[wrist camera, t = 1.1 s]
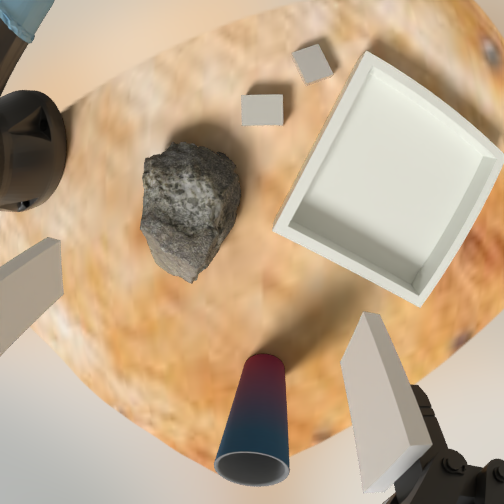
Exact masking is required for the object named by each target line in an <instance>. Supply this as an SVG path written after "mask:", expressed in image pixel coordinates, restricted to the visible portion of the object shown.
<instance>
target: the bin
mask: <svg viewBox="0 0 504 504" xmlns="http://www.w3.org/2000/svg"><path fill="white" fill-rule="evenodd" d="M503 164H504V153H503V152H502V151H501V150H500V149H499V148H497V147H496V146H495V145H494V144H493V143H492V142H491V141H490V140H489V139H488V138H487V137H486V136H485V135H483V134H482V133H481V132H480V131H479V130H478V129H477V128H476V127H474V126H473V125H472V124H471V123H470V122H469V121H467V120H466V119H465V118H464V117H463V116H461V115H460V114H459V113H458V112H456V111H455V110H454V109H453V108H451V107H450V106H449V105H448V104H446V103H445V102H444V101H442V100H441V99H440V98H438V97H437V96H436V95H434V94H433V93H432V92H430V91H429V90H427V89H426V88H425V87H423V86H422V85H420V84H419V83H418V82H416V81H415V80H413V79H412V78H410V77H409V76H407V75H406V74H404V73H403V72H401V71H399V70H398V69H396V68H395V67H393V66H392V65H390V64H388V63H387V62H385V61H383V60H382V59H380V58H378V57H377V56H375V55H373V54H372V53H370V52H368V51H365V53H364V54H363V55H362V56H361V57H360V58H359V59H358V60H357V62H356V64H355V66H354V68H353V70H352V72H351V74H350V76H349V78H348V79H347V81H346V83H345V85H344V87H343V89H342V91H341V93H340V95H339V97H338V99H337V101H336V103H335V104H334V106H333V108H332V110H331V112H330V114H329V116H328V118H327V120H326V122H325V124H324V126H323V128H322V129H321V131H320V133H319V135H318V137H317V139H316V141H315V143H314V145H313V147H312V149H311V151H310V152H309V154H308V156H307V158H306V160H305V162H304V164H303V166H302V168H301V170H300V172H299V173H298V175H297V177H296V179H295V181H294V183H293V185H292V187H291V189H290V191H289V193H288V194H287V196H286V198H285V200H284V202H283V204H282V206H281V208H280V210H279V212H278V214H277V215H276V217H275V219H274V223H273V229H272V231H273V232H275V233H277V234H279V235H281V236H283V237H285V238H287V239H289V240H291V241H293V242H295V243H297V244H299V245H301V246H303V247H305V248H307V249H309V250H311V251H313V252H315V253H317V254H319V255H321V256H323V257H325V258H327V259H329V260H331V261H333V262H335V263H336V264H338V265H340V266H342V267H344V268H346V269H348V270H350V271H352V272H354V273H356V274H358V275H360V276H361V277H363V278H365V279H367V280H369V281H371V282H373V283H375V284H377V285H379V286H380V287H382V288H384V289H386V290H388V291H390V292H392V293H394V294H395V295H397V296H399V297H401V298H403V299H405V300H407V301H408V302H410V303H412V304H414V305H416V306H418V307H421V306H422V304H423V303H424V302H425V300H426V299H427V297H428V296H429V295H430V293H431V292H432V290H433V289H434V287H435V286H436V284H437V283H438V281H439V280H440V278H441V277H442V275H443V274H444V272H445V271H446V269H447V267H448V266H449V264H450V263H451V261H452V260H453V258H454V256H455V255H456V253H457V251H458V250H459V248H460V246H461V245H462V243H463V241H464V240H465V238H466V236H467V235H468V233H469V231H470V229H471V227H472V226H473V224H474V222H475V220H476V218H477V217H478V215H479V213H480V211H481V209H482V207H483V205H484V203H485V201H486V199H487V197H488V195H489V193H490V191H491V189H492V187H493V185H494V183H495V181H496V179H497V177H498V175H499V173H500V170H501V168H502V166H503Z"/></svg>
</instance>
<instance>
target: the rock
mask: <svg viewBox="0 0 504 504" xmlns="http://www.w3.org/2000/svg"><path fill="white" fill-rule="evenodd" d="M217 154H219V155H217ZM217 154H215V153H214V152H211V150H210V149H208V148H205V147H202V146H199V147H197V146H196V145H195V144H188V143H186V142H180V143H179V144H175V143H174V142H172V144H171V145H170V146H169V148H168V149H167V150H166V151H164V152H163V153H162V154H161V155H160V154H158V155H153V156H151V157H150V158H145V162H144V173H143V177H142V179H143V187H144V196H143V213H142V219H141V225H140V230H142V232H143V234H144V236H145V237H146V239H147V243H148V245H149V248H150V250H151V254H152V256H153V258H154V260H155V262H156V264H157V265H158V266H159V267H161V268H162V269H164V270H165V271H167V272H168V273H170V274H172V275H174V276H179V277H181V278H183V279H184V280H185V281H187V282H189V283H191V284H192V283H193V281H196V280H197V278H198V274H199V273H200V272H202V271H203V270H204V269H206V268H207V267H208V266H209V264H210V262H211V261H212V260H213V258H214V257H215V256H216V254H217V253H218V250H219V247H220V244H221V243H222V241H223V240H224V239H225V238H226V236H227V235H228V233H229V232H230V230H231V229H232V227H233V226H234V224H235V219H236V215H237V214H236V210H237V206H239V203H240V197H241V194H240V193H241V189H240V184H239V182H238V181H239V177H238V175H237V174H236V173H235V169H236V165H234V163H233V162H232V161H231V160H230V159H229V158H228V157H227V156H226V155H225V154H224V153H221V152H217ZM220 156H221V157H220Z"/></svg>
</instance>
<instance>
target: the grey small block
mask: <svg viewBox="0 0 504 504" xmlns="http://www.w3.org/2000/svg"><path fill="white" fill-rule="evenodd" d="M241 102H242V126H283V95H241Z"/></svg>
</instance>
